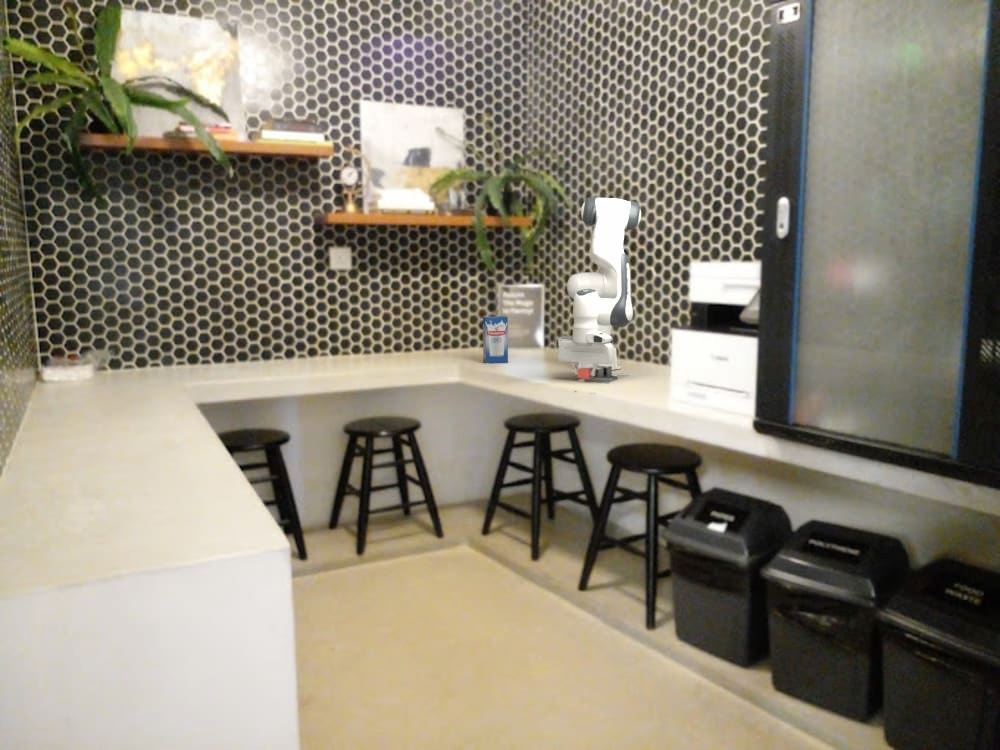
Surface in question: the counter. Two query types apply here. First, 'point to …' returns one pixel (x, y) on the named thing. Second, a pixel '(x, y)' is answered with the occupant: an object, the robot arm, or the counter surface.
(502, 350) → the milk carton
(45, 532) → the counter surface
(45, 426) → the counter surface
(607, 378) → the panel
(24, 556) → the counter surface
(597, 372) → the breaker
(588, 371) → the red block
